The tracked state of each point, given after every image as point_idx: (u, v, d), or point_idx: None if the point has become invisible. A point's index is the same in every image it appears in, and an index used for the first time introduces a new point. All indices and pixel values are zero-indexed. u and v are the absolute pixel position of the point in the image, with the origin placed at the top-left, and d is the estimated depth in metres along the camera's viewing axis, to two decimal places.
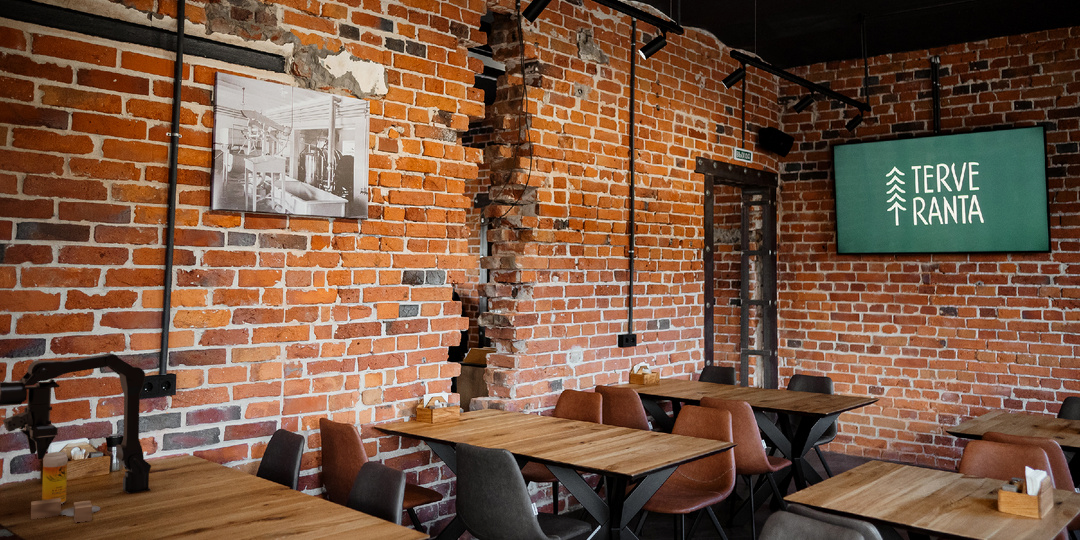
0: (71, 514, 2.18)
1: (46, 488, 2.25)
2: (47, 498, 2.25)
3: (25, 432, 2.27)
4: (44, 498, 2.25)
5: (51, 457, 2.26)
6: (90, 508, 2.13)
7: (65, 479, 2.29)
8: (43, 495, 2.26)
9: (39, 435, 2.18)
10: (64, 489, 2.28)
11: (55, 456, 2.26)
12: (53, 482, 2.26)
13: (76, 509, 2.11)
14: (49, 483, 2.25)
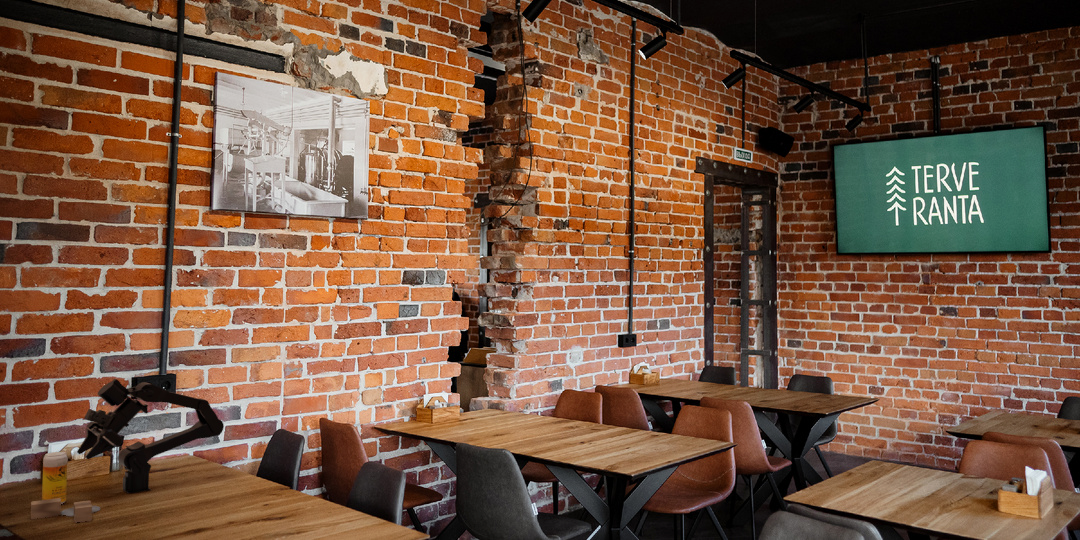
0: (71, 514, 2.18)
1: (46, 488, 2.25)
2: (47, 498, 2.25)
3: (89, 432, 2.39)
4: (44, 498, 2.25)
5: (51, 457, 2.26)
6: (90, 508, 2.13)
7: (65, 479, 2.29)
8: (43, 495, 2.26)
9: (107, 437, 2.30)
10: (64, 489, 2.28)
11: (55, 456, 2.26)
12: (53, 482, 2.26)
13: (76, 509, 2.11)
14: (49, 483, 2.25)
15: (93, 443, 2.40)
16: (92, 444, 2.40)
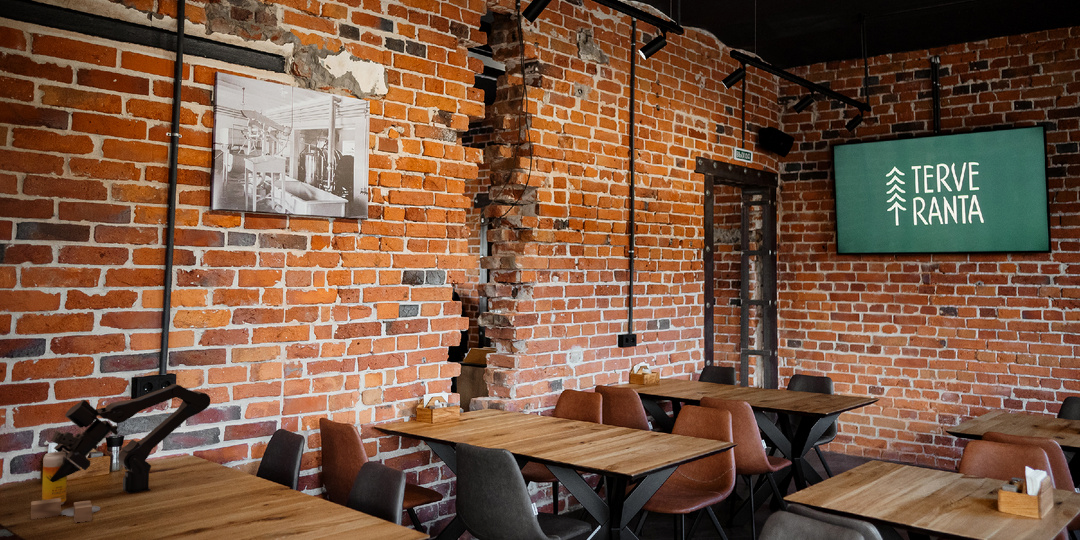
0: (71, 514, 2.18)
1: (46, 488, 2.25)
2: (47, 498, 2.25)
3: None
4: (44, 498, 2.25)
5: (51, 457, 2.26)
6: (90, 508, 2.13)
7: (65, 479, 2.29)
8: (43, 495, 2.26)
9: (74, 460, 2.24)
10: (64, 489, 2.28)
11: (55, 456, 2.26)
12: (53, 482, 2.26)
13: (76, 509, 2.11)
14: (49, 483, 2.25)
15: None
16: None
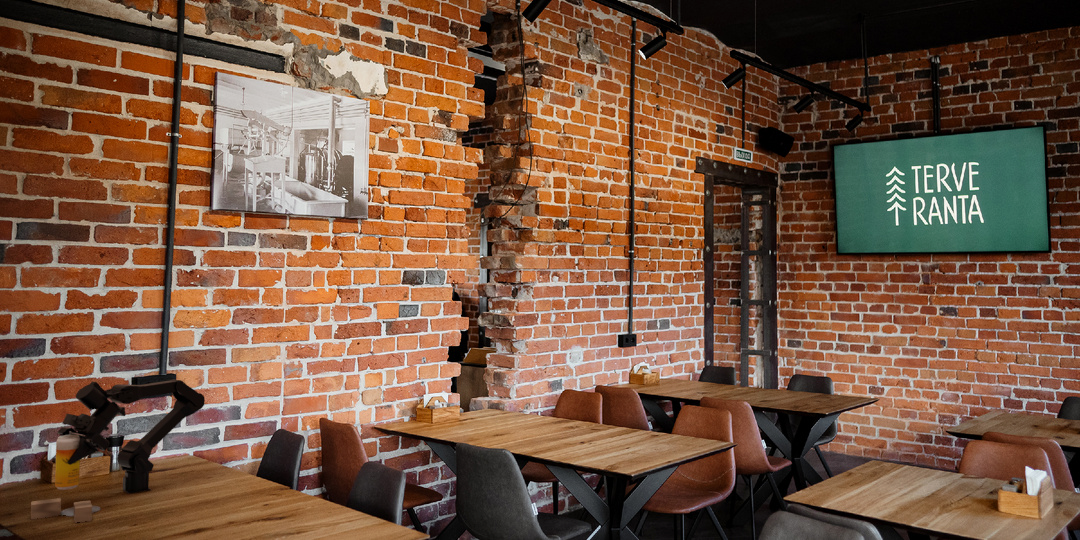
0: (71, 514, 2.18)
1: (62, 472, 2.23)
2: (63, 481, 2.23)
3: None
4: (59, 481, 2.23)
5: (67, 440, 2.23)
6: (90, 508, 2.13)
7: (79, 462, 2.27)
8: (58, 478, 2.23)
9: (96, 441, 2.24)
10: (79, 472, 2.26)
11: (71, 439, 2.24)
12: None
13: (76, 509, 2.11)
14: (66, 466, 2.23)
15: None
16: None
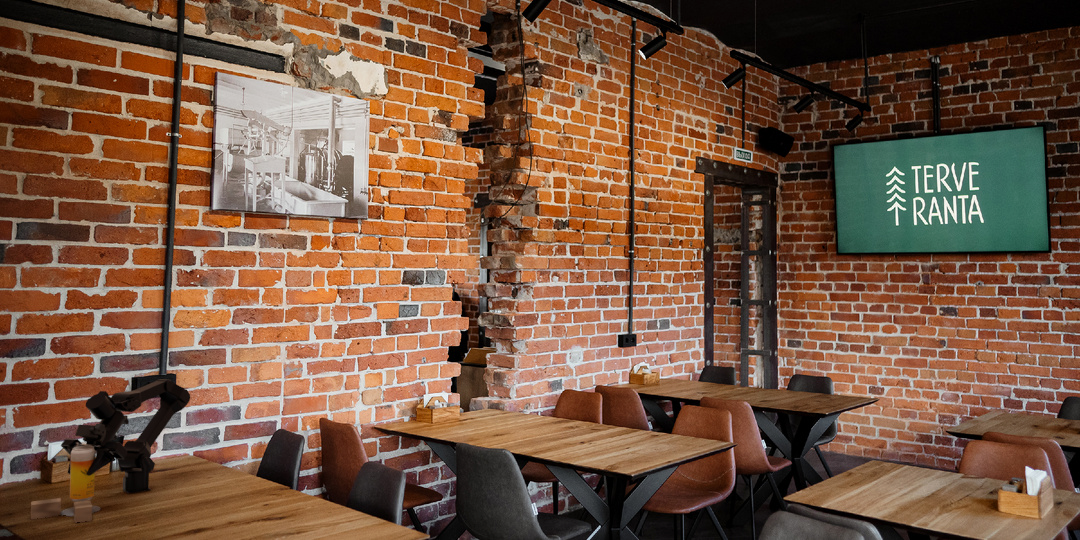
0: (71, 514, 2.18)
1: (81, 483, 2.19)
2: (82, 493, 2.20)
3: None
4: (78, 493, 2.19)
5: (85, 451, 2.20)
6: (90, 508, 2.13)
7: None
8: (76, 491, 2.19)
9: (118, 450, 2.23)
10: None
11: (89, 449, 2.21)
12: None
13: (76, 509, 2.11)
14: (85, 478, 2.20)
15: None
16: None
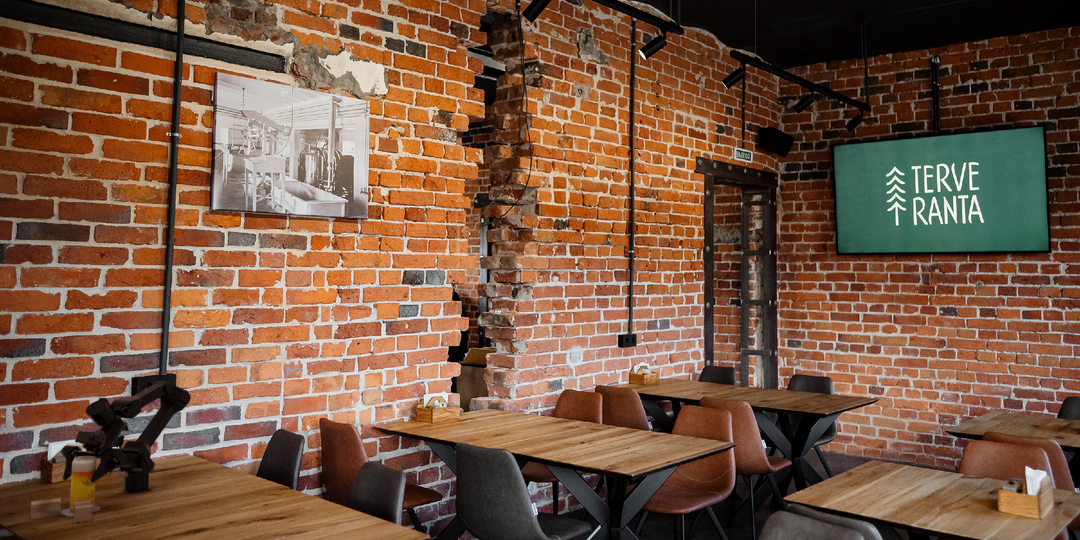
0: (71, 514, 2.18)
1: (81, 494, 2.20)
2: None
3: (71, 456, 2.25)
4: None
5: (87, 461, 2.21)
6: (90, 508, 2.13)
7: None
8: (76, 501, 2.19)
9: (117, 457, 2.23)
10: (94, 493, 2.24)
11: (90, 460, 2.21)
12: (89, 486, 2.21)
13: (76, 509, 2.11)
14: (85, 488, 2.20)
15: None
16: None
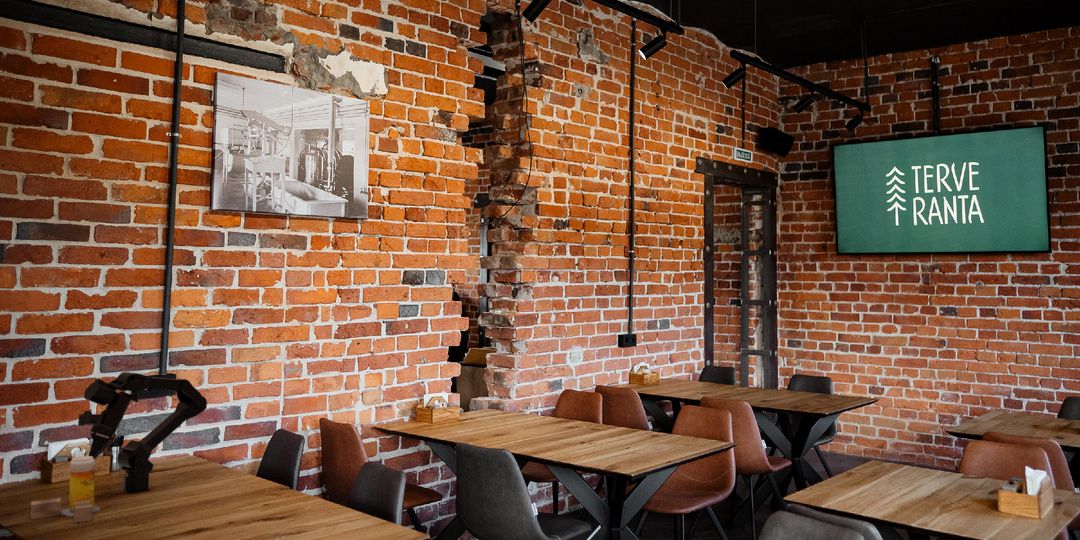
0: (71, 514, 2.18)
1: (80, 494, 2.19)
2: None
3: None
4: None
5: (85, 461, 2.20)
6: (90, 508, 2.13)
7: None
8: (75, 501, 2.19)
9: (96, 431, 2.27)
10: (93, 493, 2.24)
11: (88, 460, 2.21)
12: (87, 486, 2.21)
13: (76, 509, 2.11)
14: (84, 488, 2.20)
15: None
16: None
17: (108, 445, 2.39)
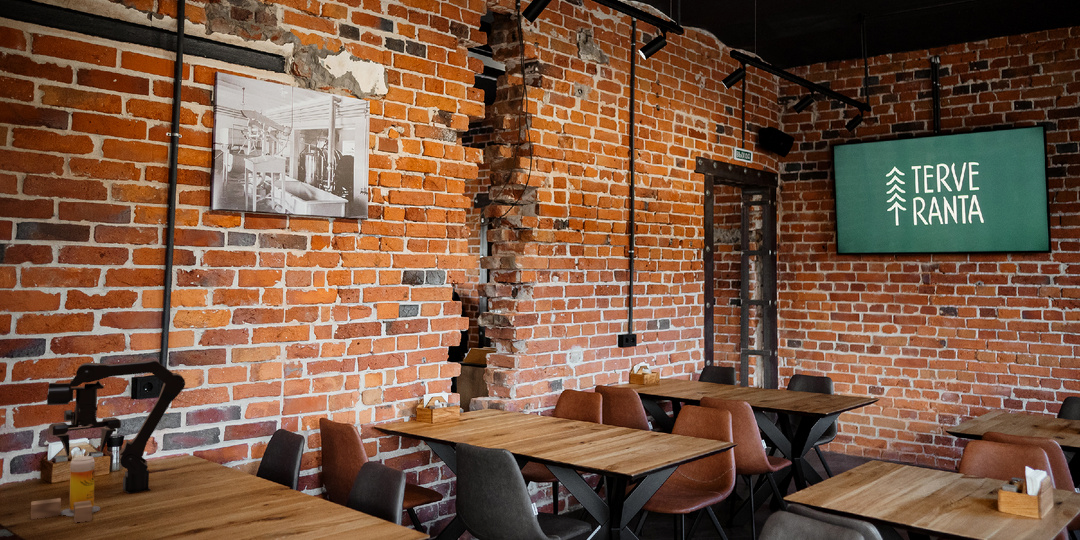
0: (71, 514, 2.18)
1: (80, 494, 2.19)
2: None
3: (101, 429, 2.43)
4: None
5: (85, 461, 2.20)
6: (90, 508, 2.13)
7: None
8: (75, 501, 2.19)
9: (49, 431, 2.32)
10: None
11: (88, 460, 2.21)
12: (87, 486, 2.21)
13: (76, 509, 2.11)
14: (84, 488, 2.20)
15: (103, 437, 2.40)
16: (103, 438, 2.40)
17: (105, 435, 2.39)
